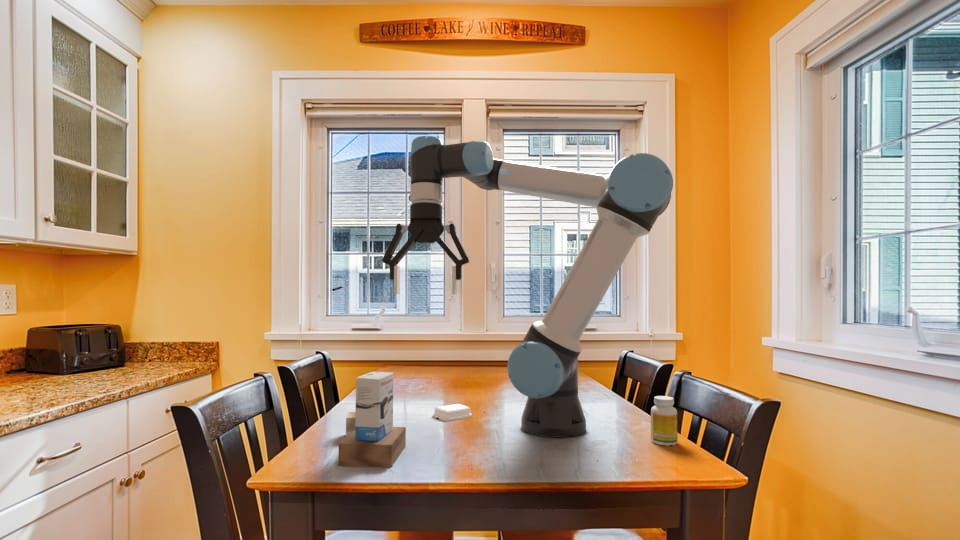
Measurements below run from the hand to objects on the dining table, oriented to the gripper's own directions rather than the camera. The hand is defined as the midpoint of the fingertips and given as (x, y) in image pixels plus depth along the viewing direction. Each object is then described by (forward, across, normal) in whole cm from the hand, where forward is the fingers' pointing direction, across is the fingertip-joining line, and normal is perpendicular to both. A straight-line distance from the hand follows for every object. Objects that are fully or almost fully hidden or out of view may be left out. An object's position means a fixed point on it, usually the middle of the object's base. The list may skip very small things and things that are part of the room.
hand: (425, 294), depth 114 cm
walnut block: (+32, +7, +17) cm, 37 cm away
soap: (+32, -5, -15) cm, 36 cm away
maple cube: (+32, +14, +5) cm, 35 cm away
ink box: (+28, +7, +17) cm, 33 cm away
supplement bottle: (+32, -53, +4) cm, 62 cm away
